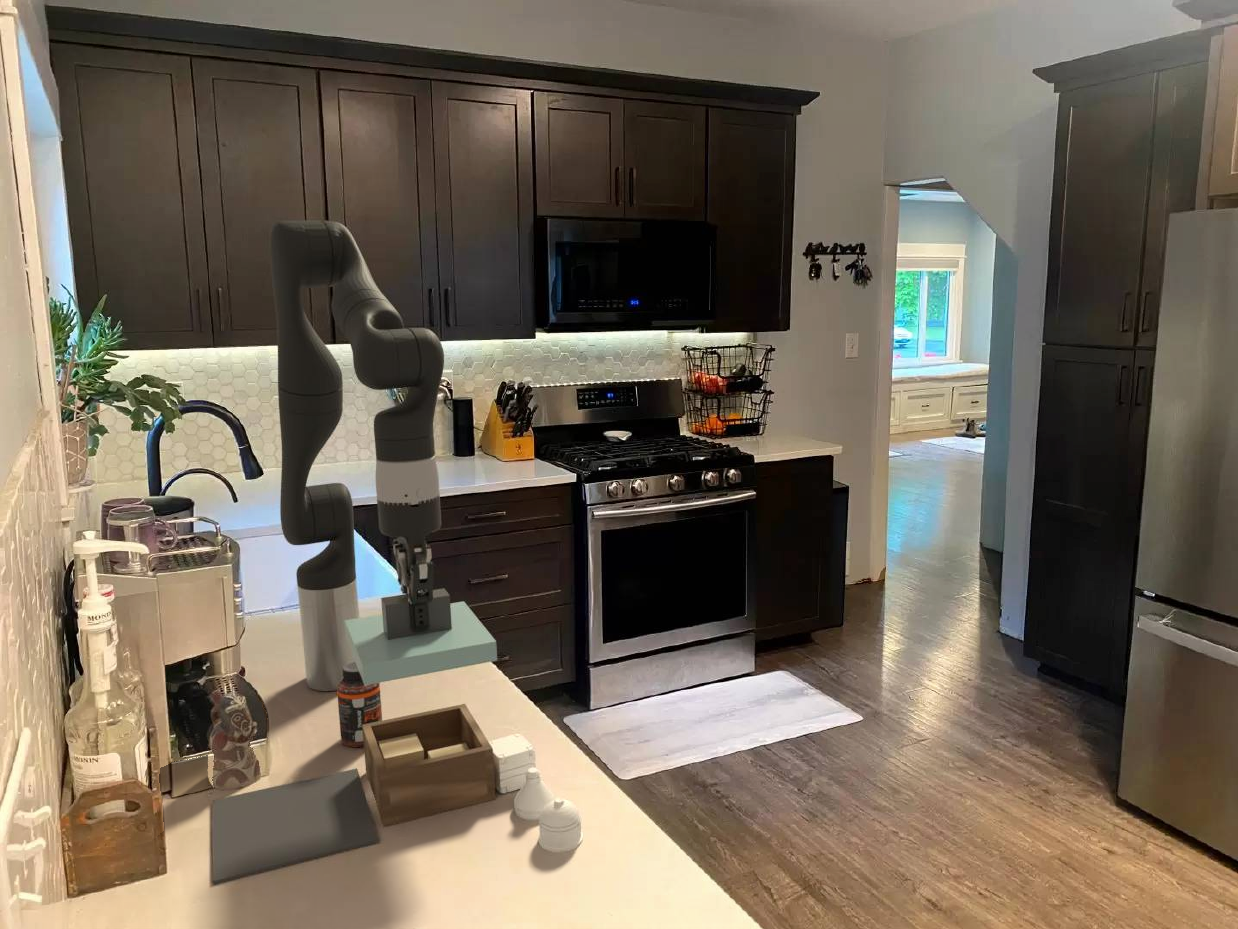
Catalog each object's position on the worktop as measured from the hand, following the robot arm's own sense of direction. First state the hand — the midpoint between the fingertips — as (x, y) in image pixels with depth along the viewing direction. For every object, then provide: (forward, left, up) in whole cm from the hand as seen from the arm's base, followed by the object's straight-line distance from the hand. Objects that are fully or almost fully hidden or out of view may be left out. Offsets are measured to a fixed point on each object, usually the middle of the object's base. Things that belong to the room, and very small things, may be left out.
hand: (417, 625), depth 117 cm
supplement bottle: (-17, -6, -22) cm, 29 cm away
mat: (+1, -17, -22) cm, 28 cm away
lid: (0, 0, -3) cm, 3 cm away
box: (0, 0, -22) cm, 22 cm away
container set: (+11, +11, -23) cm, 27 cm away
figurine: (-14, -23, -22) cm, 35 cm away
